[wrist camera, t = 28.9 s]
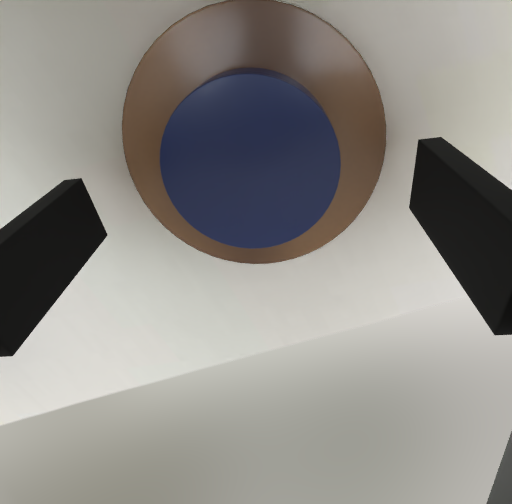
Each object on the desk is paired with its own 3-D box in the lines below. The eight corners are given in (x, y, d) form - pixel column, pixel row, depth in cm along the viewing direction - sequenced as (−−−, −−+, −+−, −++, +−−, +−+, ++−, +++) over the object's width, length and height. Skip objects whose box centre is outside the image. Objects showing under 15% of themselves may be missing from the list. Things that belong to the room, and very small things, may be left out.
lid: (192, 235, 20) (185, 254, 18) (148, 81, 15) (133, 88, 13) (335, 223, 19) (340, 242, 17) (335, 53, 14) (342, 58, 12)
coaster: (396, -29, 13) (400, -31, 12) (374, 250, 20) (376, 255, 20) (82, 26, 14) (75, 27, 14) (167, 265, 22) (165, 271, 21)
